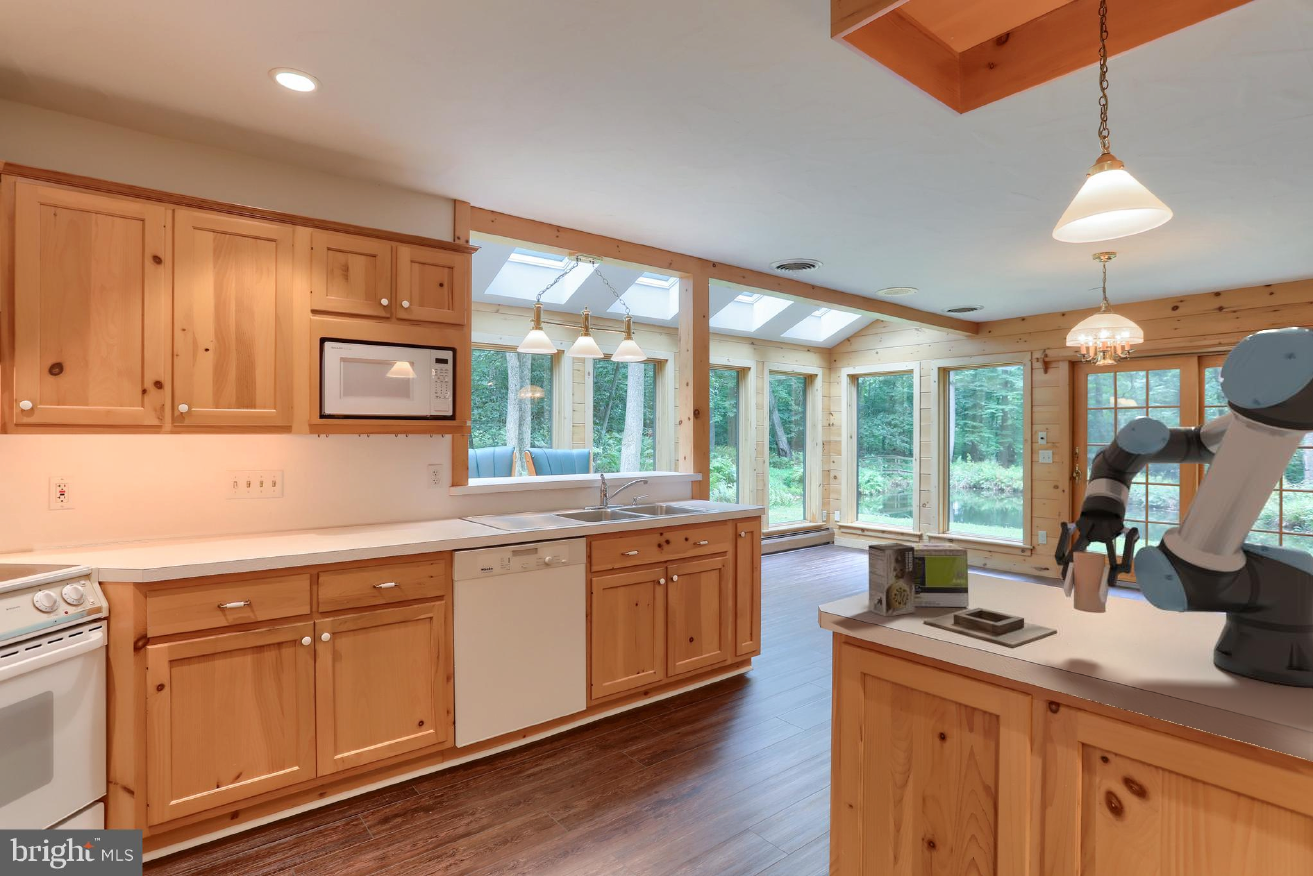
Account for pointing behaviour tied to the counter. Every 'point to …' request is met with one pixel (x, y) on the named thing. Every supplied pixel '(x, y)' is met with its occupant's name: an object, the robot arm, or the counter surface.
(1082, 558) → the tall mauve pillar
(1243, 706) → the counter surface
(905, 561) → the coffee box
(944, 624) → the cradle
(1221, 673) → the counter surface
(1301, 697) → the counter surface
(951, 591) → the tea box
